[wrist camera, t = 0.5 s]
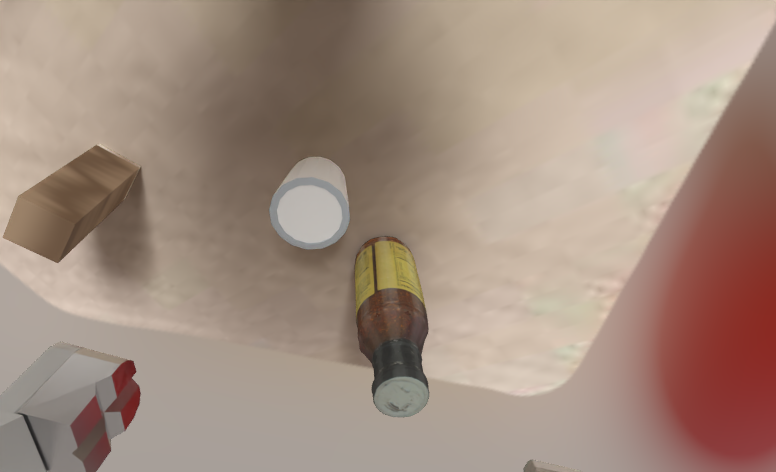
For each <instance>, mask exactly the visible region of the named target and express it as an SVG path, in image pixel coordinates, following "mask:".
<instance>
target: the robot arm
mask: <svg viewBox="0 0 776 472" xmlns="http://www.w3.org/2000/svg"><path fill="white" fill-rule="evenodd" d="M135 373H136V368H135V365H134V361H132V360H128V359H124V358H120V357H117V356H113V355H109V354H105V353H101V352H97V351H94V350H90V349H86V348H83V347H79V346H75V345H71V344H67V343H63V342H59V343H57V344H55V345H53V346H51V347H49V348H48V349H47V350H46V351H45V352H44V353H43V354H42V355H41V356H40V357H39V358H38V359H37V360H36V361H35V362H34V363H33V364H32V365H31V366H30V367H29V368H28V369H27V370H26V371H25V372H24V373H23V374H22V375H21V376H20V377H19V378H18V379H17V380H16V381H15V382H14V383H12V385H11V386H10V387H9V388H7V389H6V390H5V391H4V392H3V393H2V394H1V395H0V472H96V471H97V470H98V468H99V467H100V466H101V464H102V463H103V462H104V460H105V459H106V457H107V456H108V454H109V453H110V452H111V439H112V438H113V437H115V436H117V435H119V434H121V433H122V432H124V431H125V430H126V429H127V427H128V426H129V424H130V423H131V421H132V420H133V418H134V416H135V414H136V411H137V409H138V406H139V404H140V394H141V393H140V387H139V385H138V384H137V383H136V382H135V381H134V380H133V379H132V377H133V376H134V374H135ZM524 472H581V471H579V470H575V469H570V468H566V467H562V466H558V465H554V464H549V463H544V462H541V461H536V460H530V461H528V462H527V464H526V465H525V467H524Z"/></svg>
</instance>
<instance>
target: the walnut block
mask: <svg viewBox="0 0 776 472" xmlns="http://www.w3.org/2000/svg"><path fill="white" fill-rule="evenodd" d="M140 167H141V166H139V165H138V164H136V163H134V162H132V161H130V160H128V159H126V158H125V157H123V156H121V155H119V154H117V153H115V152H114V151H112V150H110V149H108V148H106V147H104V146H103V145H101V144H97V145H96V146H94V147H93V148H91V149H90V150H88V151H87V152H85V153H84V154H82V155H80V156H79V157H77V158H76V159H74V160H73V161H71V162H70V163H68V164H67V165H65V166H64V167H62V168H61V169H59V170H58V171H56V172H55V173H53V174H51V175H50V176H48V177H47V178H45V179H44V180H42V181H41V182H39V183H38V184H36V185H35V186H33V187H32V188H30V189H29V190H27V191H26V192H24V193H22V194H21V195H19V196H18V198H17V201H16V204H15V206H14V209H13V212H12V214H11V217H10V220H9V222H8V225H7V227H6V230H5V233H4V235H3V238H4V239H7V240H9V241H11V242H13V243H15V244H17V245H20V246H22V247H24V248H26V249H28V250H30V251H33V252H35V253H37V254H39V255H41V256H43V257H46V258H48V259H50V260H52V261H54V262H56V263H58V262H60V261H61V260H62V259H63V258H64V257H65V256H66V255H67V254H68V253H69V252H70V251H71V250H72V249H73V248H74V247H75V246H76V245H77V244H78V243H79V242H80V241H82V240H83V239H84V238H85V237H86V236H87V235H88V234H89V233H90V232H91V231H92V230H93V229H94V228H95V227H96V226H97V225H98V224H99V223H100V222H101V221H103V220H104V219H105V218H106V217H107V216H108V215H109V214H110V213H111V212H112V211H113V210H114V209H115V208H116V207H117V206H118V205H119V204H120V203H121V202H122V201H123V200H125V198H126V196H127V194H128V192H129V190H130V188H131V186H132V184H133V182H134V180H135V178H136V176H137V174H138V172H139V170H140Z"/></svg>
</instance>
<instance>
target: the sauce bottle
mask: <svg viewBox="0 0 776 472" xmlns="http://www.w3.org/2000/svg"><path fill="white" fill-rule="evenodd" d="M355 291H356V323H357V327H358V339H359V345H360V350H361V352H362V353H364V354H365V356H366V357H367V358H368V359H369V360H370V362H371V363H372V365H373V368H374V377H375V379H374V381H373V384H372V393H373V400H374V404H375V406H376V408H377V409H378V410H379V411H380V412H382V413H383V414H385V415H388V416H392V417H409V416H412V415H414V414H416V413H418V412H419V411H421V410H422V409H423V408H424V407H425V405H426V404H427V401H428V399H429V390H428V381H427V378H426V376H425V375H424V373H423V368H422V356H421V354H422V349H423V345H424V341H425V339H426V337H427V334H428V320H427V313H426V308H425V303H424V298H423V294H422V290H421V285H420V281H419V277H418V274H417V269H416V265H415V261H414V258H413V256H412V253H411V251H410V250H409V249H408V247H407V246H406V245H405V244H404V243H402V242H401V241H400V240H398V239H397V238H394V237H386V236H385V237H378V238H374V239H371V240H369V241H367V242H366V243H365V244H364V245H363V246H362V248H361V249H360V251H359V252H358V254H357V257H356V264H355Z"/></svg>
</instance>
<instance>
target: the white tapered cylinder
mask: <svg viewBox="0 0 776 472" xmlns="http://www.w3.org/2000/svg"><path fill="white" fill-rule="evenodd" d="M269 213H270V218H271V224H272V226H273V227H274V229H275V230H276V232H277V233H278V235H279V236H280V237H281V238H283V239H284V240H285V241H287V242H288V243H290V244H291V245H293V246H296V247H300V248H303V249H322V248H325V247H327V246H329V245H331V244H334V243H336V242H337V241H338V240H339V239H340V238H341V237H342V236H343V234H344V233H345V232H346V229H347V227H348V224H349V221H350V213H349V203H348V196H347V188H346V181H345V176H344V174H343V172H342V171H341V169H340V167H339V166H337V165H336V164H335V163H334V162H332V161H331V160H329V159H326V158H323V157H307V158H305V159H303V160H301V161H299V162H297V164H296V165H295V166H294V167H293V168H292V169H291V171H290V172H289V174H288V175H287V176H286V178H285V179H284V181H283V182H282V184H281V185H280V186H279V188H278V189H277V191H276V192H275V194H274V195H273V197H272V201H271V204H270V208H269Z"/></svg>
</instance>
